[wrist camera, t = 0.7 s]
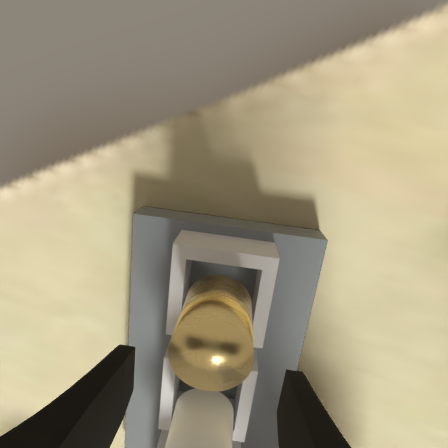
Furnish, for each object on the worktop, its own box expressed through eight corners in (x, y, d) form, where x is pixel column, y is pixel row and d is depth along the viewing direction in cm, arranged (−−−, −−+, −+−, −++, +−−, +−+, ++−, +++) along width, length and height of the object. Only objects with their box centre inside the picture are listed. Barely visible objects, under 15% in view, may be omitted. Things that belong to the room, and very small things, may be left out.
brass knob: (246, 337, 17) (247, 397, 13) (183, 328, 17) (165, 384, 13) (256, 280, 16) (260, 326, 12) (188, 270, 16) (171, 313, 12)
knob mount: (266, 465, 27) (270, 530, 22) (132, 444, 27) (111, 503, 23) (319, 230, 20) (340, 256, 16) (143, 206, 21) (116, 225, 16)
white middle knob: (229, 437, 19) (225, 513, 15) (173, 428, 19) (155, 502, 15) (237, 392, 18) (235, 462, 14) (177, 383, 18) (159, 450, 14)
